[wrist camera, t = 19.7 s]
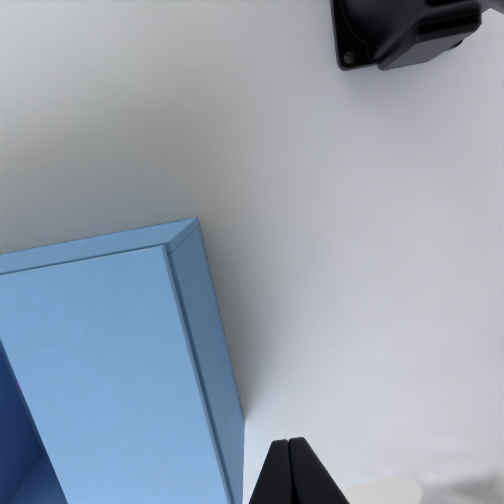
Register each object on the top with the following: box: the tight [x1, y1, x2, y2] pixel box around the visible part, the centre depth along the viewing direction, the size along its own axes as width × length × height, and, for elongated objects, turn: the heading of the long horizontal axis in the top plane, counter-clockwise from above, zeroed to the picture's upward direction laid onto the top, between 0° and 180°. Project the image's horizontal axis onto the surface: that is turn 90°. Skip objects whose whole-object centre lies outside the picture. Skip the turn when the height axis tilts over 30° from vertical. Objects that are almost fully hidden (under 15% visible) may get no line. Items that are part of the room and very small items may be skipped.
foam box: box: [0, 217, 245, 504], centre depth 18 cm, size 15×15×7 cm
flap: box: [0, 245, 231, 504], centre depth 14 cm, size 7×15×1 cm, turn 11°
